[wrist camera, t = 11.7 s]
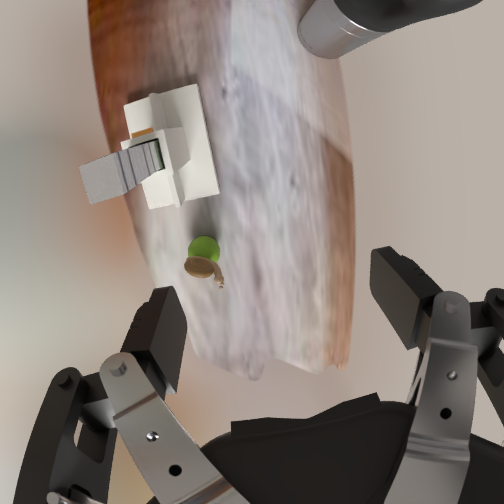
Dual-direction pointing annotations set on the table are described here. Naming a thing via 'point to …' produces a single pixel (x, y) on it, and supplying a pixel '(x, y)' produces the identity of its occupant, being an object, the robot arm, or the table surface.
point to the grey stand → (174, 145)
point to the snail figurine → (204, 259)
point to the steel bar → (120, 171)
